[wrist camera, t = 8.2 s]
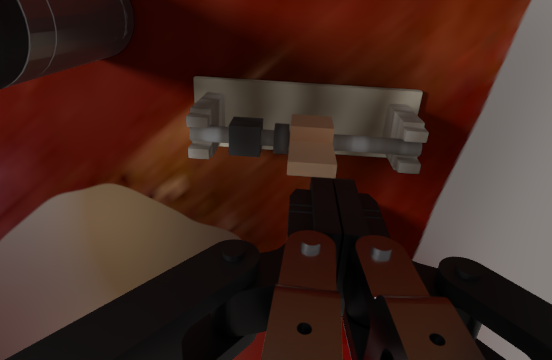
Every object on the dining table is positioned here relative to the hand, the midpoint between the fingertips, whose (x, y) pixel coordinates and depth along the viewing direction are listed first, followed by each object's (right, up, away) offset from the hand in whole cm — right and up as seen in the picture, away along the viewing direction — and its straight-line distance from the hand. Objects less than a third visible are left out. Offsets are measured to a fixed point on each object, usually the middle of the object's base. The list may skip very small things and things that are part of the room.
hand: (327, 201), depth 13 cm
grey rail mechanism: (+1, +8, +30) cm, 31 cm away
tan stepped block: (+2, +6, +25) cm, 26 cm away
